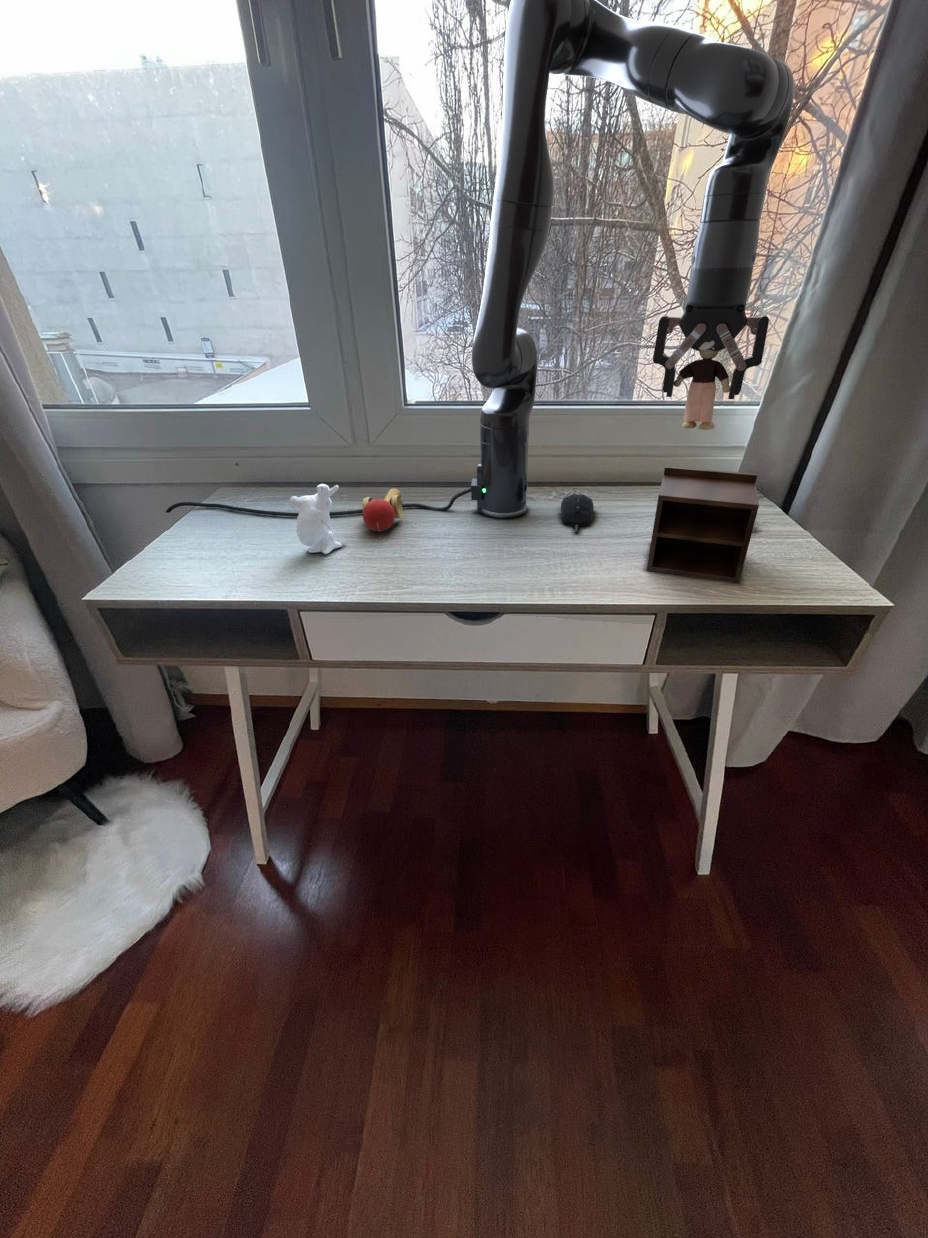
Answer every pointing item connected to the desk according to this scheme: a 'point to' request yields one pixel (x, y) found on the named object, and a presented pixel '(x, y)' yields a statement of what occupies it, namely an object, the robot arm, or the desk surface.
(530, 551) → the desk surface
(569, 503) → the gaming mouse
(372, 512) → the kendama
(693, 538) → the rack
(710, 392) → the grandmother figurine
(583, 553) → the desk surface
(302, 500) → the white sculpted figure
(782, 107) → the robot arm
